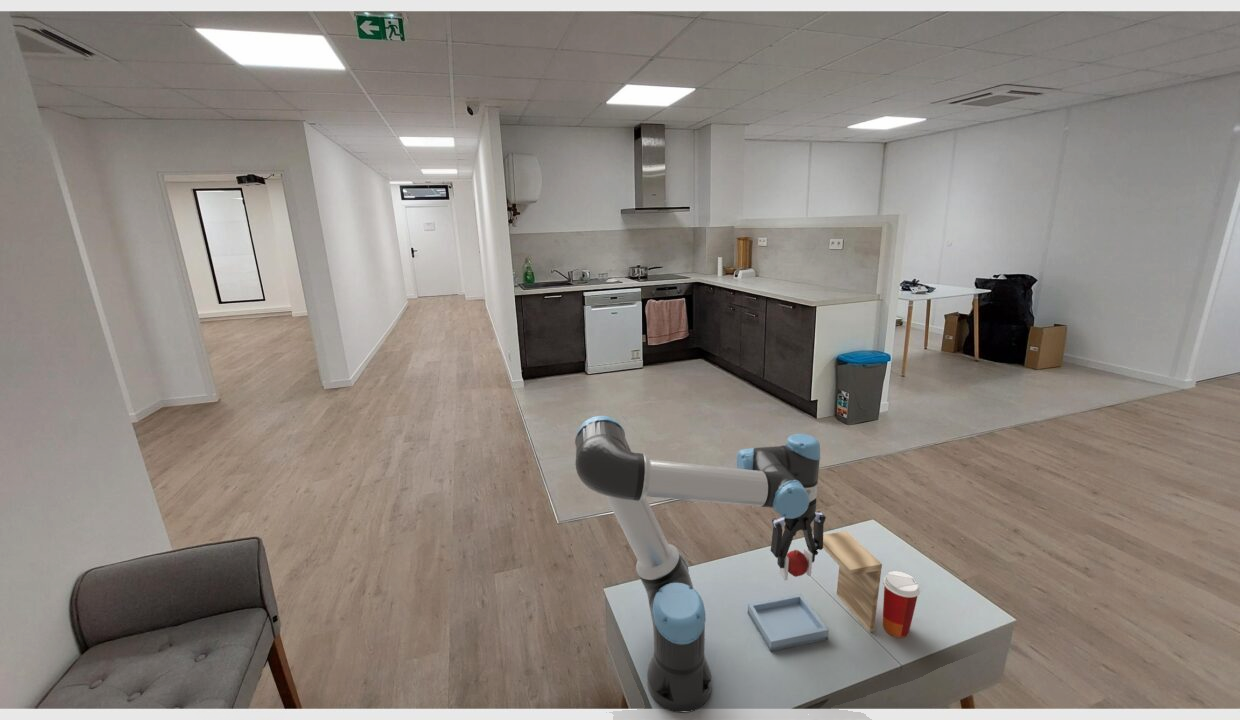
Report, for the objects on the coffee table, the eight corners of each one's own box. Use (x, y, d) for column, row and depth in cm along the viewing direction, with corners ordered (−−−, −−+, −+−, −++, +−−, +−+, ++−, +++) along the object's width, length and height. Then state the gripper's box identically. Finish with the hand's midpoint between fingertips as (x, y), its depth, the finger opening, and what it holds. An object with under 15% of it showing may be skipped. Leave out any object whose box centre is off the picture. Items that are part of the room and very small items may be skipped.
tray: (770, 651, 122) (770, 641, 121) (747, 612, 135) (747, 603, 134) (827, 639, 125) (828, 629, 124) (800, 602, 137) (800, 593, 137)
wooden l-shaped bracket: (842, 637, 125) (849, 569, 120) (812, 598, 139) (817, 536, 133) (873, 631, 127) (882, 564, 121) (840, 593, 140) (846, 531, 135)
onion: (788, 565, 130) (790, 539, 128) (810, 574, 126) (812, 547, 124) (780, 577, 125) (781, 550, 123) (802, 586, 122) (804, 559, 120)
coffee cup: (904, 617, 131) (911, 570, 127) (919, 642, 123) (927, 593, 119) (872, 615, 132) (877, 569, 128) (885, 640, 124) (891, 592, 120)
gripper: (772, 509, 114) (768, 591, 121) (844, 498, 118) (836, 578, 124) (757, 493, 122) (754, 570, 128) (825, 482, 125) (819, 559, 131)
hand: (795, 574), depth 126 cm, fingers closed on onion, 6 cm apart
